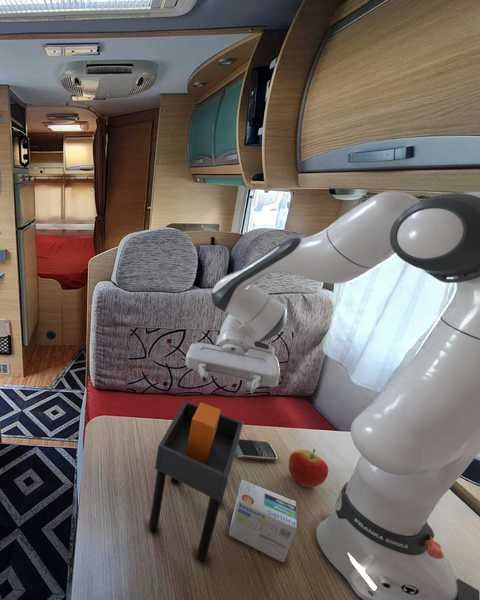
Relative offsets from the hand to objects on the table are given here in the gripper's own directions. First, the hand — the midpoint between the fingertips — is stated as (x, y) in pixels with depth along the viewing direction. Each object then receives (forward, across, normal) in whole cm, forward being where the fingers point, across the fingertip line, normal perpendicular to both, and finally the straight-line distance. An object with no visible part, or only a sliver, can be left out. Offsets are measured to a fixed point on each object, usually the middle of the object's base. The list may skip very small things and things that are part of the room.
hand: (225, 384), depth 73 cm
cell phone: (-12, +8, +32) cm, 35 cm away
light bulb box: (+13, +10, +29) cm, 33 cm away
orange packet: (+13, -3, +8) cm, 16 cm away
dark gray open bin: (+13, -3, +10) cm, 16 cm away
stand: (+15, -4, +27) cm, 32 cm away
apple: (-8, +20, +32) cm, 39 cm away
